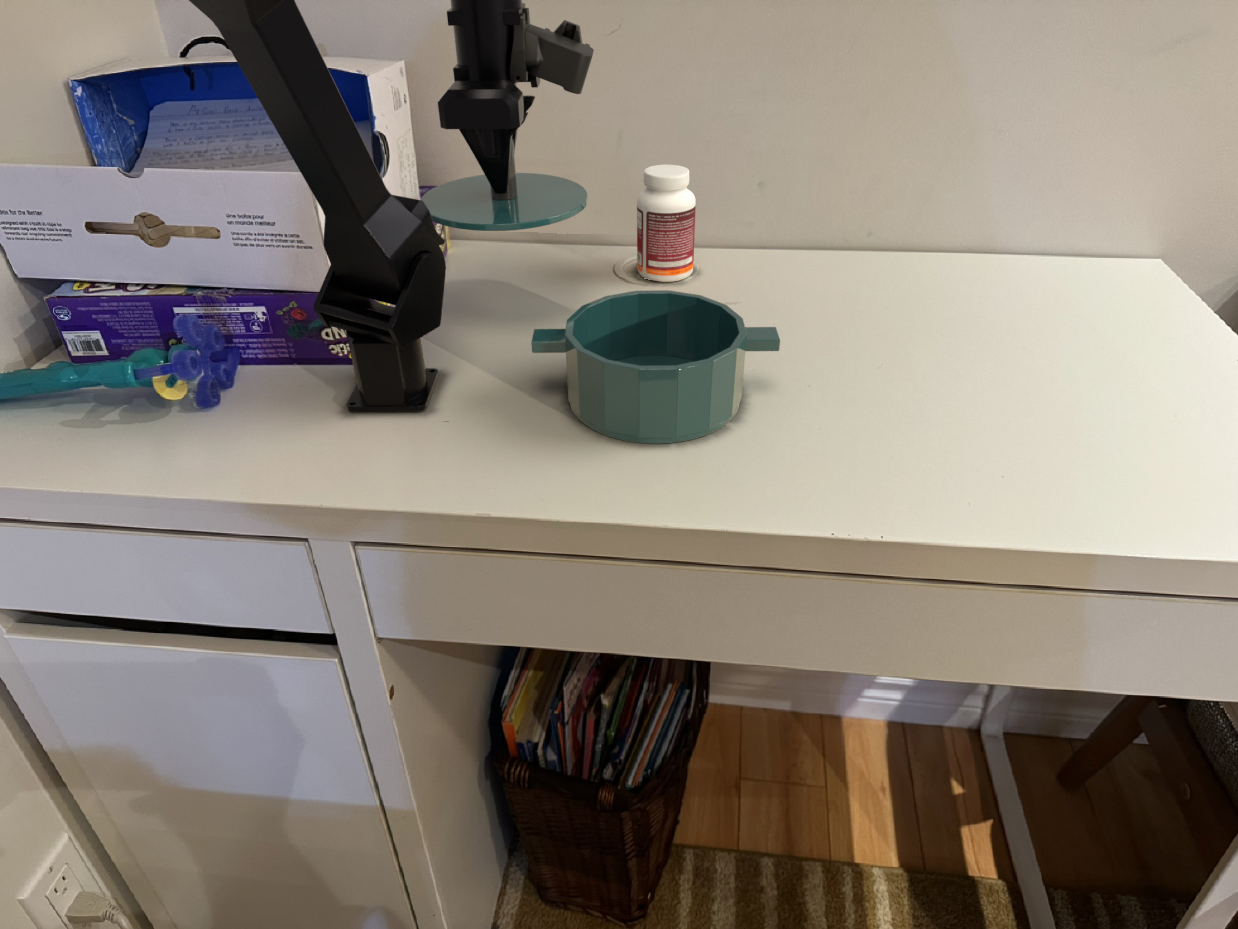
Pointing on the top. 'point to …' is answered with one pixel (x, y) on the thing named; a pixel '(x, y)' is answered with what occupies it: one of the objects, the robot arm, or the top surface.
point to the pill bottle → (665, 224)
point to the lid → (505, 201)
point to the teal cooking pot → (655, 364)
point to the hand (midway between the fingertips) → (503, 188)
